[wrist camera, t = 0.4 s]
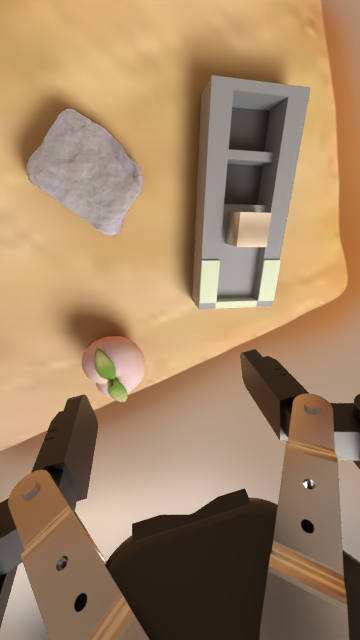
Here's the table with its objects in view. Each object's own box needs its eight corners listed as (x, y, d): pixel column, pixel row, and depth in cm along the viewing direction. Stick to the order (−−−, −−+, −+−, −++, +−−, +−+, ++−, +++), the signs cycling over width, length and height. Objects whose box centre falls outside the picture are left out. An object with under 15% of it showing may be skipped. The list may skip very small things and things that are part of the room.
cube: (228, 212, 32) (240, 212, 29) (256, 213, 33) (271, 212, 29) (225, 243, 34) (236, 247, 30) (252, 243, 35) (266, 247, 31)
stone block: (68, 112, 30) (26, 183, 30) (63, 87, 25) (13, 171, 25) (150, 181, 34) (112, 242, 35) (158, 170, 30) (115, 240, 30)
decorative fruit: (153, 356, 42) (158, 394, 33) (112, 378, 43) (106, 422, 34) (124, 313, 38) (121, 343, 29) (79, 337, 39) (63, 374, 30)
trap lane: (201, 94, 29) (212, 73, 25) (287, 104, 31) (312, 86, 27) (192, 299, 40) (199, 309, 35) (257, 297, 41) (272, 306, 37)
